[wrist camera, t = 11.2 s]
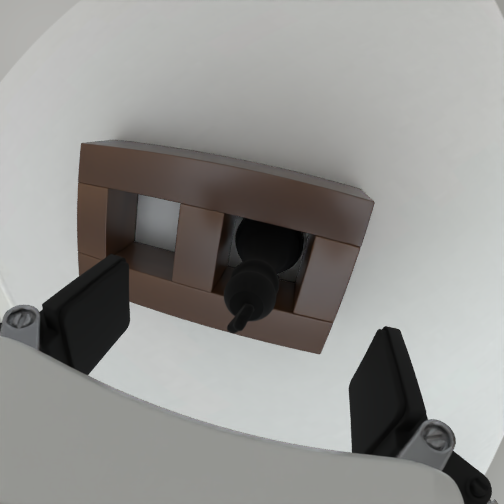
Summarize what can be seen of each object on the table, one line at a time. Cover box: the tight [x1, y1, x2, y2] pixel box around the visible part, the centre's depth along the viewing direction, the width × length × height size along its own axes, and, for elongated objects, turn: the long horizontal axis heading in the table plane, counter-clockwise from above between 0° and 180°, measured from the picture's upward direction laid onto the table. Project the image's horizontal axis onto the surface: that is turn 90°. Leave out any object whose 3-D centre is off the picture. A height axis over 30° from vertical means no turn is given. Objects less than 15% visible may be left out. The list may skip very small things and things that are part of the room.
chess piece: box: [224, 218, 303, 333], centre depth 16 cm, size 4×4×10 cm
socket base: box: [77, 140, 374, 354], centre depth 19 cm, size 10×17×4 cm, turn 79°
